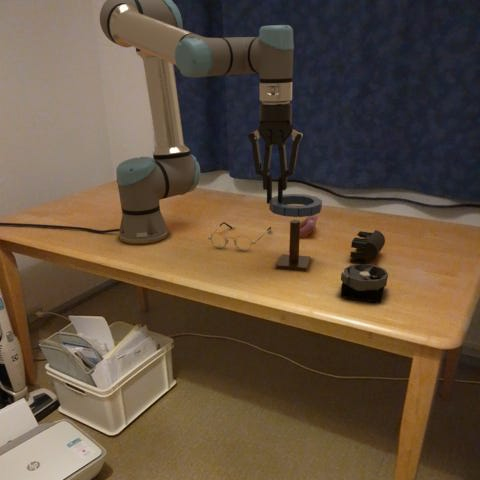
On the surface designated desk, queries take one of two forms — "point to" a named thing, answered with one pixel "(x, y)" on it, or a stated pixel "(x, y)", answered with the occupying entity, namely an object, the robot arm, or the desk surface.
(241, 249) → the eyeglasses
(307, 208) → the dark blue segmented ring
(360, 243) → the end cap
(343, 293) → the cpu cooler
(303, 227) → the video game controller
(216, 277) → the desk surface
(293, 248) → the stand
